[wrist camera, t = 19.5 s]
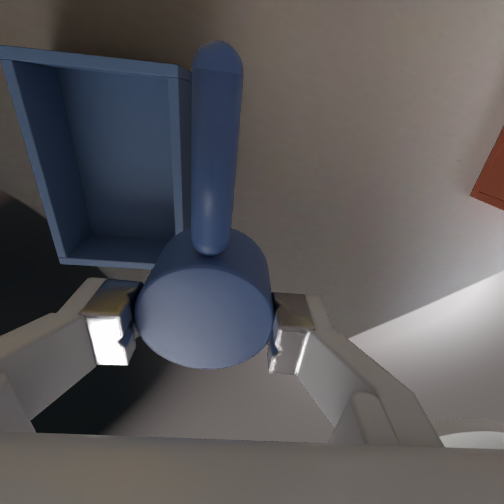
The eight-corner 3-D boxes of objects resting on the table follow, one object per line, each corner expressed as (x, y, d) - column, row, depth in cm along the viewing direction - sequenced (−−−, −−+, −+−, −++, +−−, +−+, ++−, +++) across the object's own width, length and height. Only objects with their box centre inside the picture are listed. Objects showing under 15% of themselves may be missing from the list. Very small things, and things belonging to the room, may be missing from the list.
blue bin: (194, 244, 25) (185, 271, 21) (90, 237, 24) (60, 264, 20) (192, 72, 18) (178, 64, 14) (51, 56, 18) (-5, 44, 14)
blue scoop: (261, 317, 11) (265, 373, 9) (161, 310, 11) (139, 367, 9) (304, 66, 7) (333, 51, 5) (143, 43, 7) (91, 16, 4)
